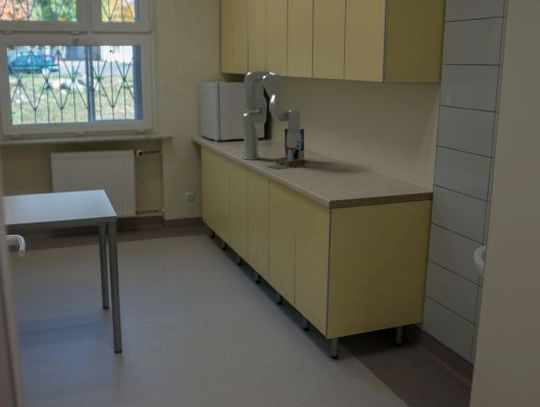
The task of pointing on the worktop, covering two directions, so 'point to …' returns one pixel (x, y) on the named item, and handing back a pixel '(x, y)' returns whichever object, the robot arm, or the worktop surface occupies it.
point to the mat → (277, 166)
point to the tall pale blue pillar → (291, 155)
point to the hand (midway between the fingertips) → (294, 158)
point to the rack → (290, 163)
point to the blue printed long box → (296, 147)
